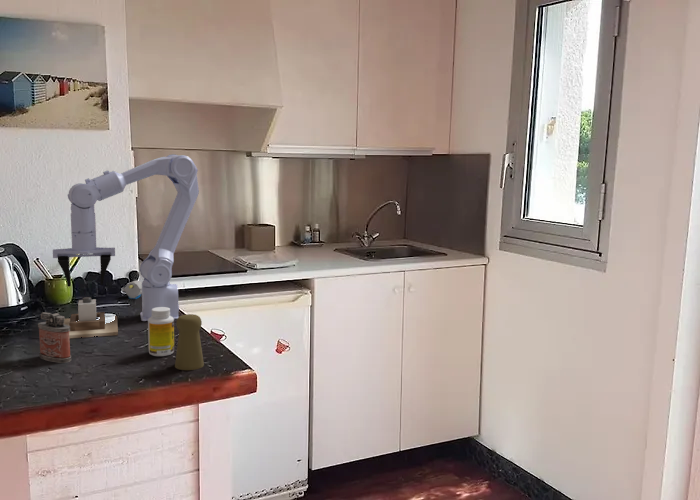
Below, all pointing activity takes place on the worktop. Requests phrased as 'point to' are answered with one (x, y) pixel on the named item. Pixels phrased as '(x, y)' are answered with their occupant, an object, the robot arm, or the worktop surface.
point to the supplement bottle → (161, 332)
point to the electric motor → (133, 289)
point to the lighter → (54, 338)
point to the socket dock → (91, 326)
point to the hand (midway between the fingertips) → (85, 284)
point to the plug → (87, 309)
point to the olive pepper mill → (189, 343)
